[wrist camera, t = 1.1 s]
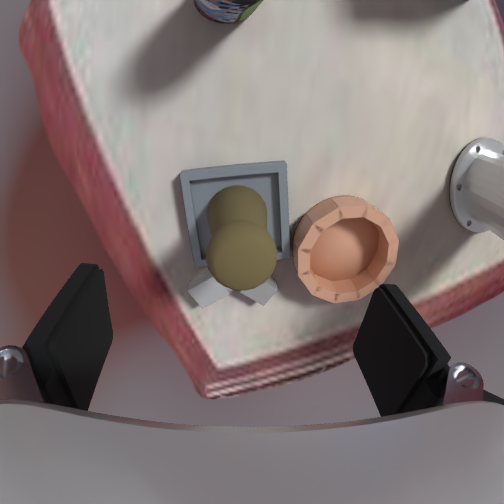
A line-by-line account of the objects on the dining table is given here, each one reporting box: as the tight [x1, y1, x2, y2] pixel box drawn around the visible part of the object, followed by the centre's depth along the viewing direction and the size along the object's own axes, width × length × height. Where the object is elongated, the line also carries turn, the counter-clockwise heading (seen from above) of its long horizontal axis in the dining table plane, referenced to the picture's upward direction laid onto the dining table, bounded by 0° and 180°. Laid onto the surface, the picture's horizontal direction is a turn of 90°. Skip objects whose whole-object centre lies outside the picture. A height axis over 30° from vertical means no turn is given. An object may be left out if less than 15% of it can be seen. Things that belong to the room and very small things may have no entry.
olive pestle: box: [206, 185, 278, 291], centre depth 26 cm, size 6×6×11 cm
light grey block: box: [187, 270, 229, 309], centre depth 35 cm, size 4×3×2 cm
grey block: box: [240, 278, 278, 306], centre depth 35 cm, size 3×3×2 cm
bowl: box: [292, 196, 399, 303], centre depth 33 cm, size 11×11×4 cm
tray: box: [180, 161, 290, 267], centre depth 31 cm, size 10×10×2 cm
